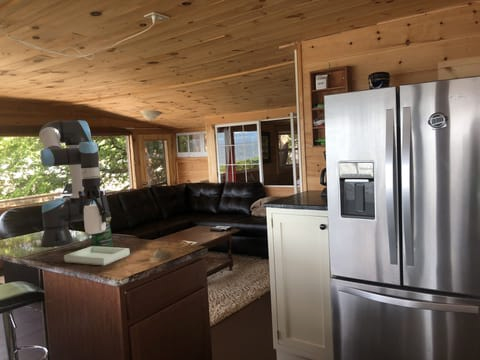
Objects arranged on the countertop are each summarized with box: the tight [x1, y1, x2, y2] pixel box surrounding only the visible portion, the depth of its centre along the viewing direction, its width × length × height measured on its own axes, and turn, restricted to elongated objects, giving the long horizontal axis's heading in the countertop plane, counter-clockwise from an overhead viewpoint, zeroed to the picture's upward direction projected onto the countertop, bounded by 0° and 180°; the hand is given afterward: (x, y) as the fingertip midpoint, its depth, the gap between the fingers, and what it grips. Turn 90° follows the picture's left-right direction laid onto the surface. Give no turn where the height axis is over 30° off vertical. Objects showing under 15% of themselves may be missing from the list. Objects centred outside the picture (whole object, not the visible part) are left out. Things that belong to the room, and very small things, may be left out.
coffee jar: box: [91, 211, 114, 247], centre depth 190 cm, size 10×8×19 cm
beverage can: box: [84, 204, 105, 235], centre depth 170 cm, size 8×8×12 cm
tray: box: [63, 245, 131, 266], centre depth 171 cm, size 22×16×3 cm
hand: (95, 229), depth 170 cm, fingers closed on beverage can, 8 cm apart
